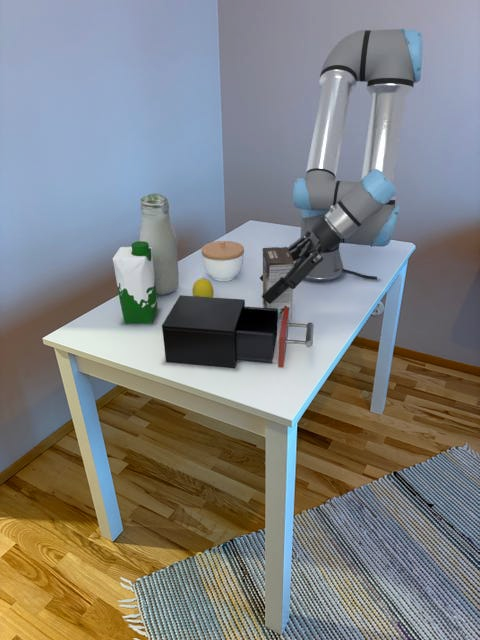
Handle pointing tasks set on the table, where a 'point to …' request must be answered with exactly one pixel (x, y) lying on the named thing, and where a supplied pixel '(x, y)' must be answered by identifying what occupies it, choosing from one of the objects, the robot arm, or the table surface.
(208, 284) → the lemon
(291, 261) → the coffee box
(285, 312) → the drawer
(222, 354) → the cabinet
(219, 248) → the lidded bowl
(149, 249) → the milk carton
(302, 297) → the table surface
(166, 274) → the glass bottle
